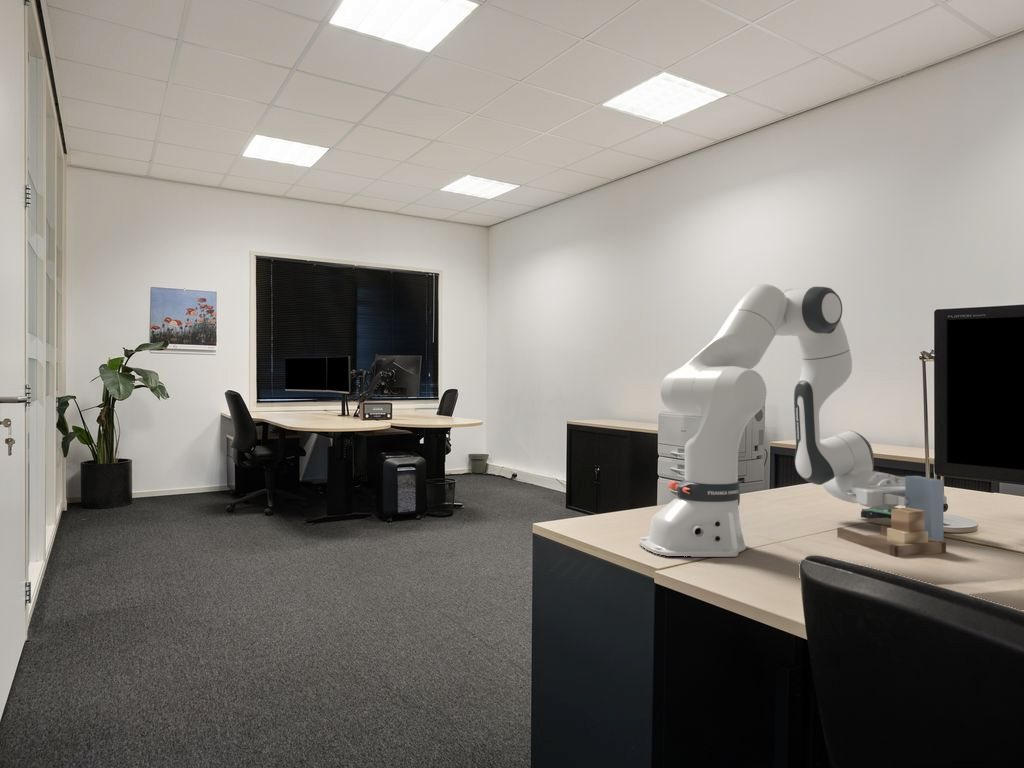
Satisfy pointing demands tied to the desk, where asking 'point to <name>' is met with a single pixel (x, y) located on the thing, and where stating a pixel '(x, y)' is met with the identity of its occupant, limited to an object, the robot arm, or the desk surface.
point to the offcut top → (908, 520)
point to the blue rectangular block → (927, 502)
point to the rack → (883, 546)
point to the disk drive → (876, 513)
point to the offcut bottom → (906, 537)
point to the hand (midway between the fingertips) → (925, 501)
